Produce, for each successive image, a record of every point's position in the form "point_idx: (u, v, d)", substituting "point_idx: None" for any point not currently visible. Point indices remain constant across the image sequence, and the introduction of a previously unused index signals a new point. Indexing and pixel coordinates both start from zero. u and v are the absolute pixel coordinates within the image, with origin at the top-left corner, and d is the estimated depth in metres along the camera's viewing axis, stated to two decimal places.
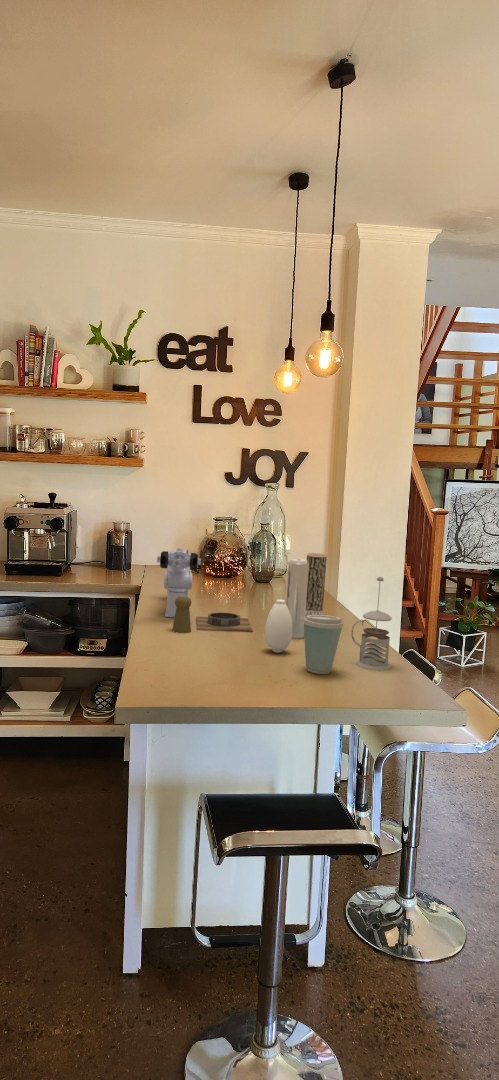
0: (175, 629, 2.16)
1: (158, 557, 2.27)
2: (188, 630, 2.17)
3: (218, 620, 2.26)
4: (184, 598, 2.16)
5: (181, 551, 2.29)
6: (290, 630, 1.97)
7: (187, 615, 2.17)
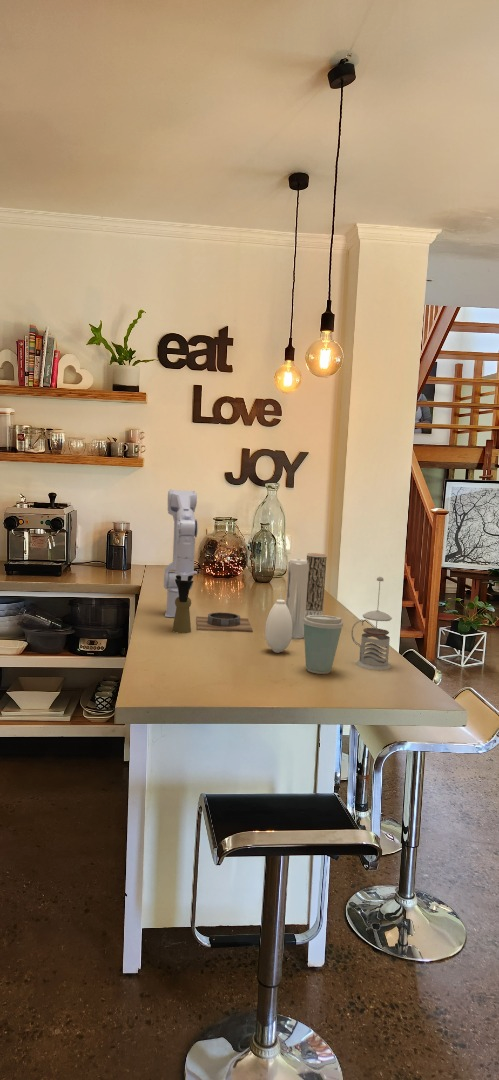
0: (175, 629, 2.16)
1: None
2: (188, 630, 2.17)
3: (218, 620, 2.26)
4: None
5: None
6: (290, 630, 1.97)
7: (187, 615, 2.17)
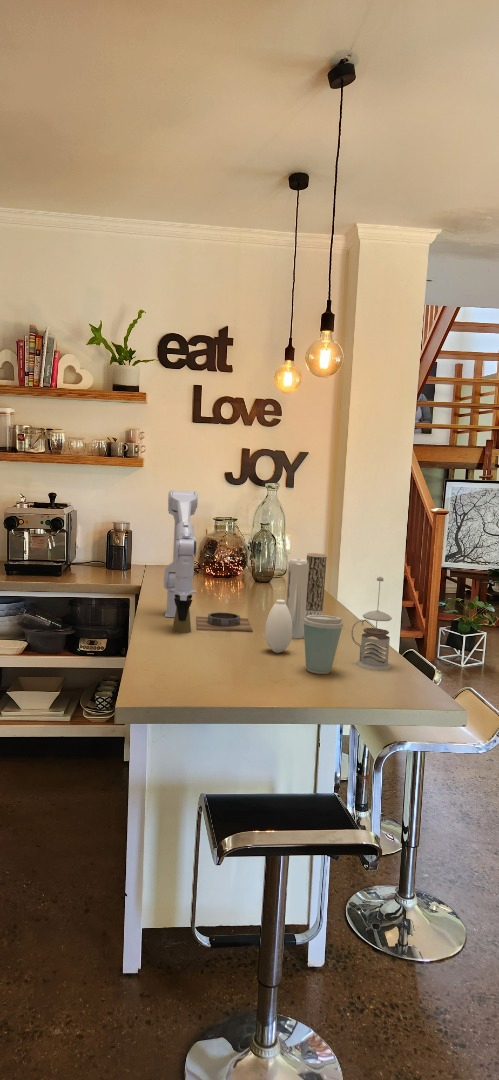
0: (175, 629, 2.16)
1: (185, 600, 2.11)
2: (188, 630, 2.17)
3: (218, 620, 2.26)
4: None
5: None
6: (290, 630, 1.97)
7: (187, 615, 2.17)
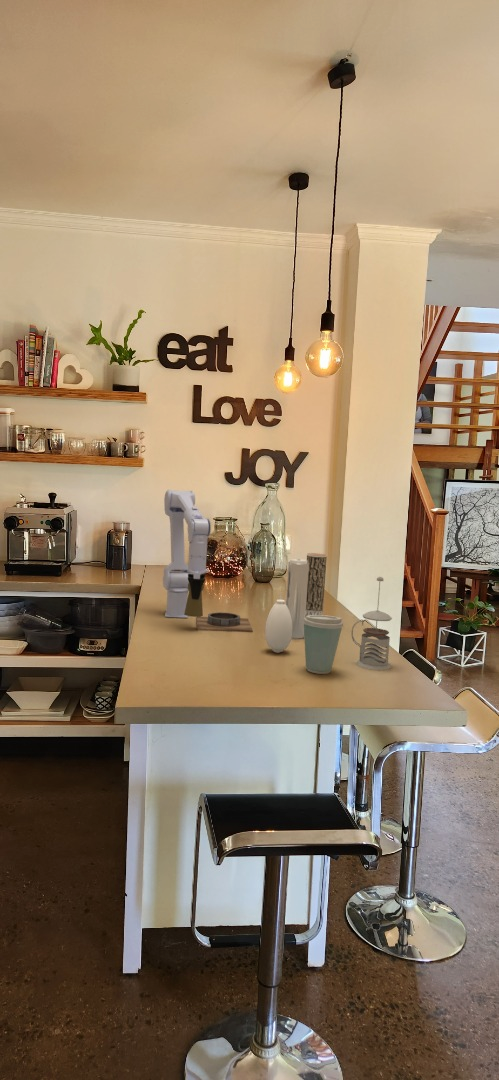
0: (188, 613, 2.19)
1: (198, 578, 2.14)
2: (200, 614, 2.20)
3: (218, 620, 2.26)
4: None
5: None
6: (290, 630, 1.97)
7: (200, 599, 2.20)
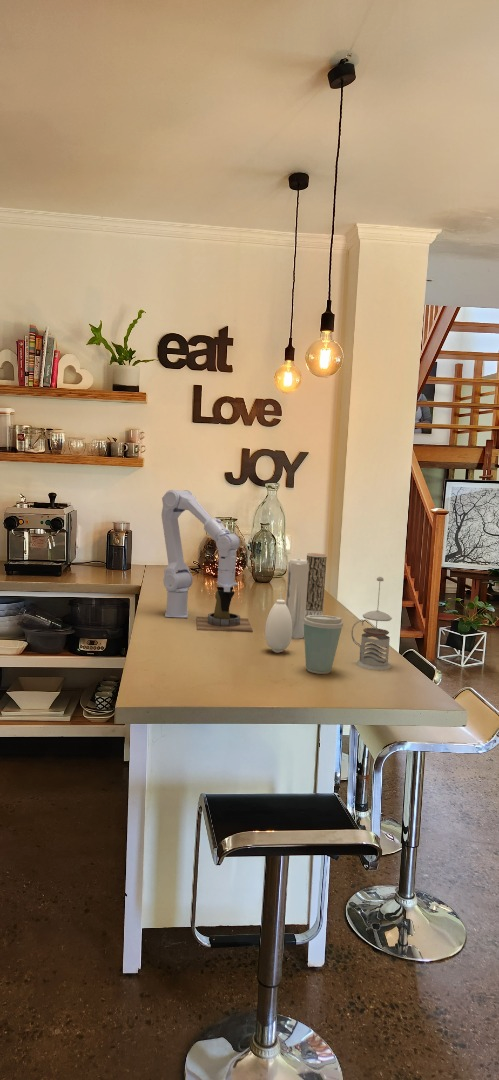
0: None
1: (228, 591, 2.23)
2: None
3: (218, 620, 2.26)
4: None
5: None
6: (290, 630, 1.97)
7: None
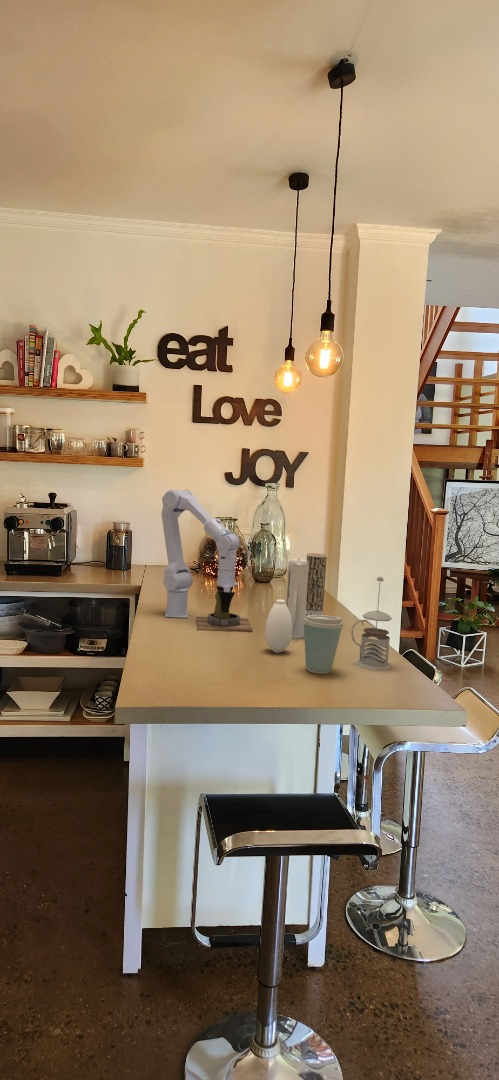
0: None
1: (228, 591, 2.23)
2: None
3: (218, 620, 2.26)
4: None
5: None
6: (290, 630, 1.97)
7: None
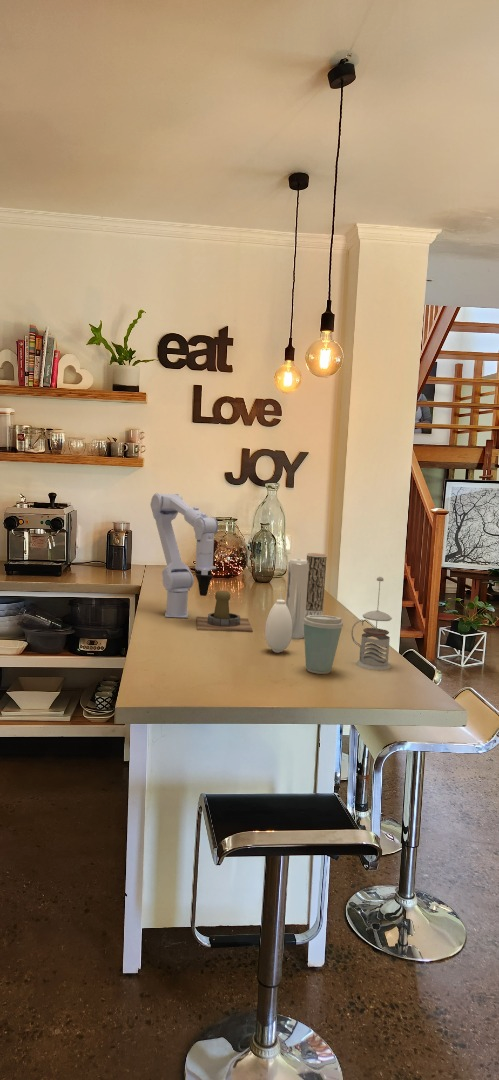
0: None
1: (206, 574, 2.22)
2: None
3: (218, 620, 2.26)
4: (224, 592, 2.28)
5: None
6: (290, 630, 1.97)
7: (227, 608, 2.29)
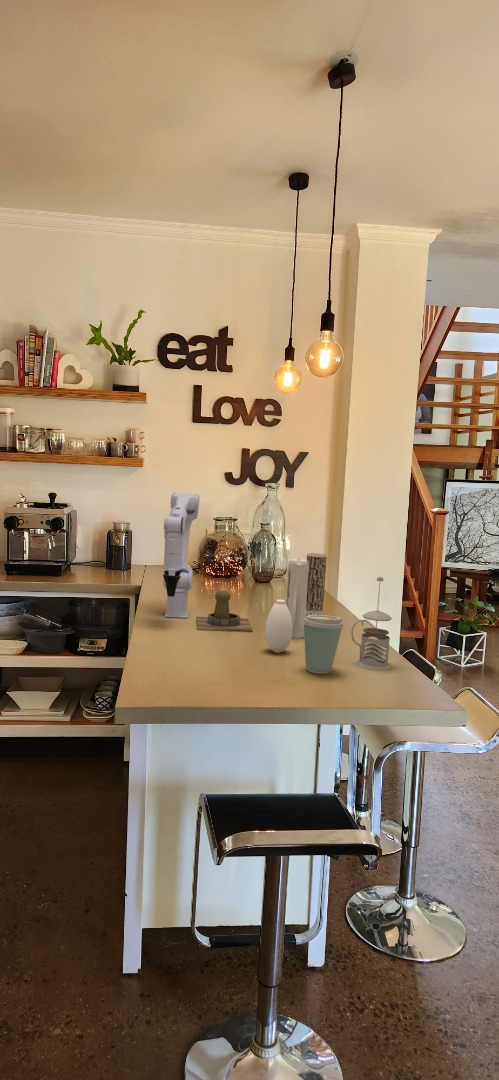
0: None
1: (173, 575, 2.17)
2: None
3: (218, 620, 2.26)
4: (224, 592, 2.28)
5: None
6: (290, 630, 1.97)
7: (227, 608, 2.29)
